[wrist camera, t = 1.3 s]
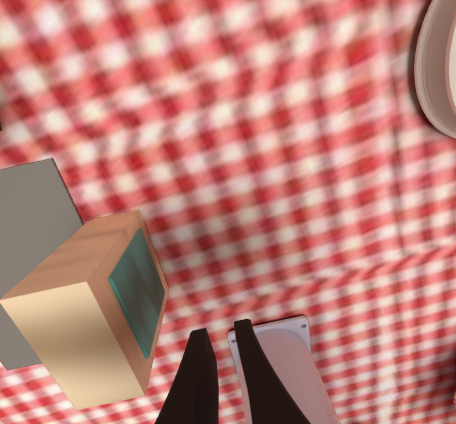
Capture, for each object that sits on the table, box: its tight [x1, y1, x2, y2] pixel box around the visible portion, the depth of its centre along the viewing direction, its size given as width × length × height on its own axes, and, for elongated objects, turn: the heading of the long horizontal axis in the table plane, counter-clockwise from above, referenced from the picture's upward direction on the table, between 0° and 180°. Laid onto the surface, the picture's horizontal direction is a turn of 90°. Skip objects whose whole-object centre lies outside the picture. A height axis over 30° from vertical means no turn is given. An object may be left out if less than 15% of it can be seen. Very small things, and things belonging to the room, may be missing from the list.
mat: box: [0, 158, 84, 371], centre depth 21 cm, size 18×13×1 cm
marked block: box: [0, 209, 169, 410], centre depth 17 cm, size 8×4×9 cm, turn 12°
